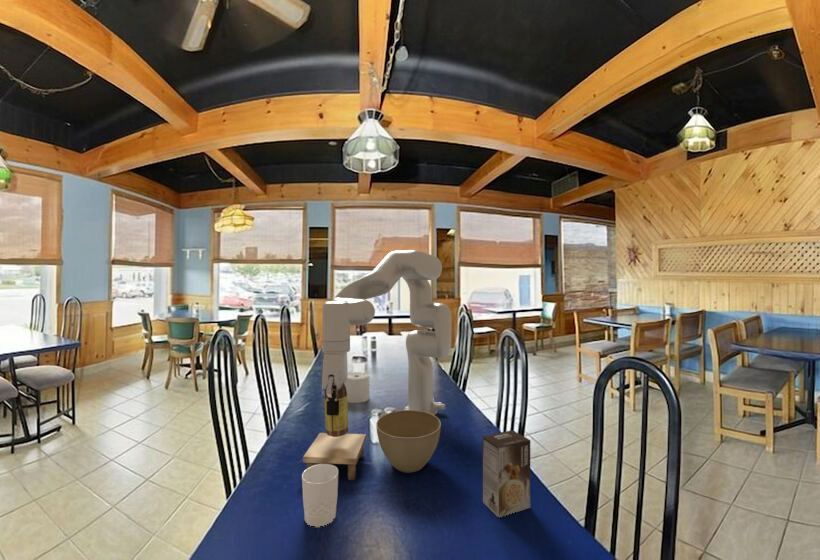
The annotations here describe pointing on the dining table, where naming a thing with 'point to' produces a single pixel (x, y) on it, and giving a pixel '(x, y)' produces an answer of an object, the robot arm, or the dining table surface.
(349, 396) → the toilet tissue
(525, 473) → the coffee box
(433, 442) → the tan bowl
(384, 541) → the dining table surface
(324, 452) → the footstool
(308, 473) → the white cup
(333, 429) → the sauce bottle
